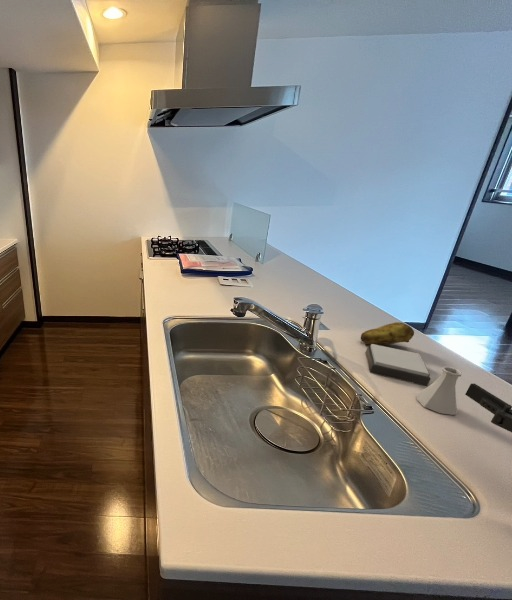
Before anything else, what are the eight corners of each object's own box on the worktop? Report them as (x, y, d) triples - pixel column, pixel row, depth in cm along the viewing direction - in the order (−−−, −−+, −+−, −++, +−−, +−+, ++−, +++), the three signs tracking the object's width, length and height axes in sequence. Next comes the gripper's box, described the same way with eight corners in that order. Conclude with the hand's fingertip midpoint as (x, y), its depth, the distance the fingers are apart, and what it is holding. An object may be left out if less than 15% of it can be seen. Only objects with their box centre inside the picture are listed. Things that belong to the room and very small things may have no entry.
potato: (355, 334, 108) (362, 313, 105) (404, 343, 102) (413, 321, 99) (359, 346, 101) (367, 323, 98) (412, 356, 96) (421, 333, 93)
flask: (451, 400, 78) (468, 366, 74) (461, 419, 72) (481, 384, 68) (412, 391, 81) (427, 358, 77) (419, 408, 75) (435, 374, 72)
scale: (419, 364, 92) (423, 353, 91) (430, 387, 83) (435, 376, 81) (365, 352, 98) (368, 342, 97) (369, 372, 89) (373, 361, 87)
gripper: (568, 507, 45) (433, 403, 65) (754, 510, 44) (560, 405, 64) (599, 469, 42) (448, 373, 62) (799, 472, 41) (581, 374, 61)
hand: (505, 389), depth 63 cm, fingers open, 13 cm apart
